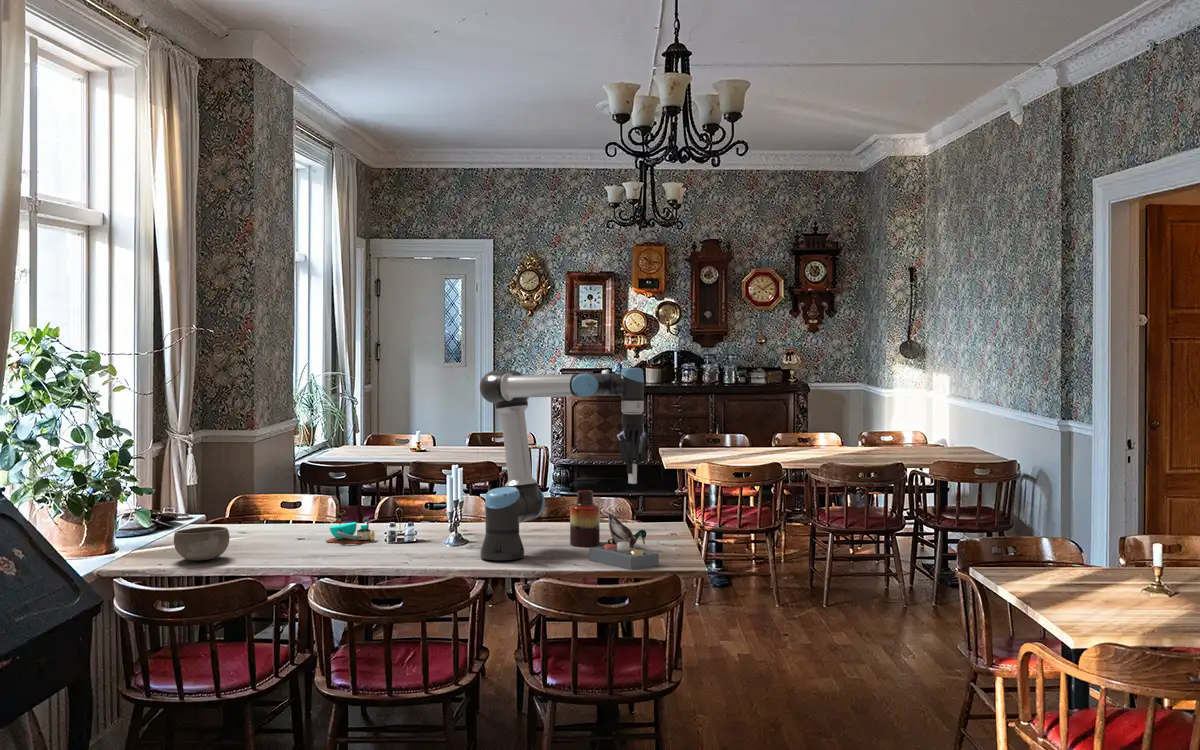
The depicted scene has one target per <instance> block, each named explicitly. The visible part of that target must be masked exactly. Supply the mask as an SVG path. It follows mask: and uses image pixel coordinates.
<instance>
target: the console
mask: <svg viewBox="0 0 1200 750" xmlns="http://www.w3.org/2000/svg"><path fill="white" fill-rule="evenodd" d="M631 550H641V549H638V548H636V547H635V548H634V547H631V548H630V552H625V553H621V552H617V544H616V549H613V550H607V549H604V545H603V546H595V547H588V560H589V561H591V562H596V563H600V564H604V565H605V564H606V565H608V566H613V567H618V568H621V569H625V570H630V571H631V570H637V569H644V568H651V567H658V566H659V564H660V561H659V560H660V559H659V553H658V552H653V551H650V550H649V551H648V550H644V549H642V550H643V555H638V556H635V555H631Z"/></svg>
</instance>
